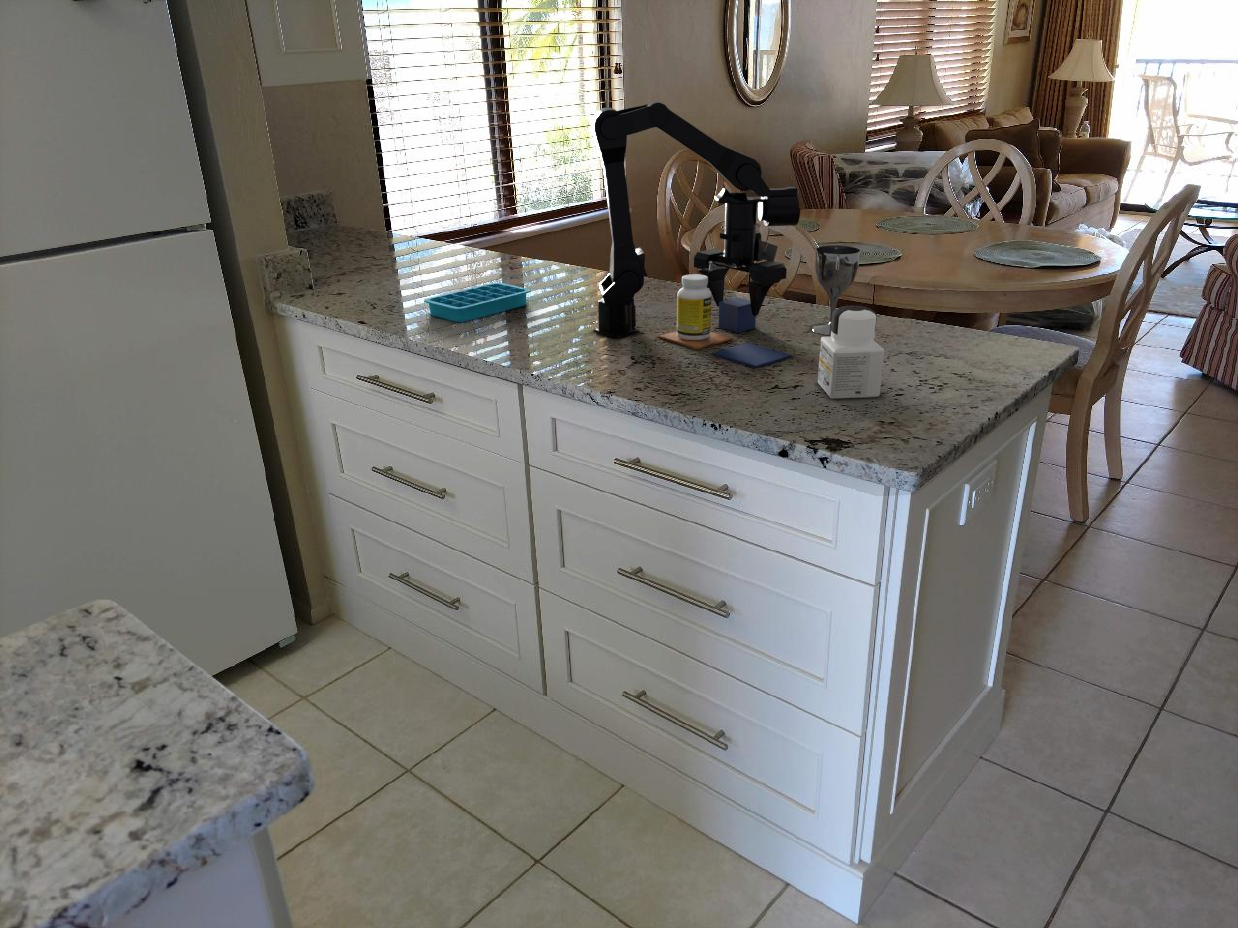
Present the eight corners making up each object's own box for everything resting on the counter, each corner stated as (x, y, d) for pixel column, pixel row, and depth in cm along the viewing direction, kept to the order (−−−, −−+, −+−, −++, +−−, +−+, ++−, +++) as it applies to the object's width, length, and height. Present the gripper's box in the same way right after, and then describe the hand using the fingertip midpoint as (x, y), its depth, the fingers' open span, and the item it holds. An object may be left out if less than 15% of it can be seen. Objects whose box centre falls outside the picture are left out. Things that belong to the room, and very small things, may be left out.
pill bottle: (708, 342, 173) (710, 281, 168) (674, 340, 174) (675, 280, 169) (712, 332, 178) (714, 273, 174) (679, 331, 179) (680, 272, 175)
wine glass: (857, 326, 182) (864, 247, 176) (847, 337, 176) (855, 255, 169) (815, 322, 185) (821, 244, 179) (805, 333, 179) (810, 252, 173)
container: (816, 383, 153) (822, 303, 148) (864, 381, 153) (872, 301, 148) (830, 399, 146) (837, 316, 140) (880, 397, 146) (889, 314, 141)
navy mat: (755, 368, 160) (755, 365, 160) (713, 354, 167) (713, 352, 167) (791, 357, 165) (791, 355, 165) (748, 344, 172) (748, 342, 172)
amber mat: (697, 349, 170) (697, 347, 170) (658, 337, 177) (658, 335, 177) (732, 339, 175) (732, 337, 175) (693, 328, 182) (693, 326, 182)
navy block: (737, 332, 179) (738, 306, 177) (718, 327, 183) (718, 301, 181) (755, 328, 182) (756, 302, 180) (736, 322, 186) (737, 297, 184)
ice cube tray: (422, 314, 194) (420, 300, 192) (497, 295, 207) (496, 281, 206) (459, 324, 187) (458, 309, 185) (534, 304, 200) (533, 290, 199)
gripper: (809, 228, 173) (803, 312, 179) (733, 215, 186) (730, 295, 192) (767, 236, 166) (763, 323, 173) (692, 222, 180) (690, 304, 186)
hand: (737, 310), depth 181 cm, fingers open, 9 cm apart
